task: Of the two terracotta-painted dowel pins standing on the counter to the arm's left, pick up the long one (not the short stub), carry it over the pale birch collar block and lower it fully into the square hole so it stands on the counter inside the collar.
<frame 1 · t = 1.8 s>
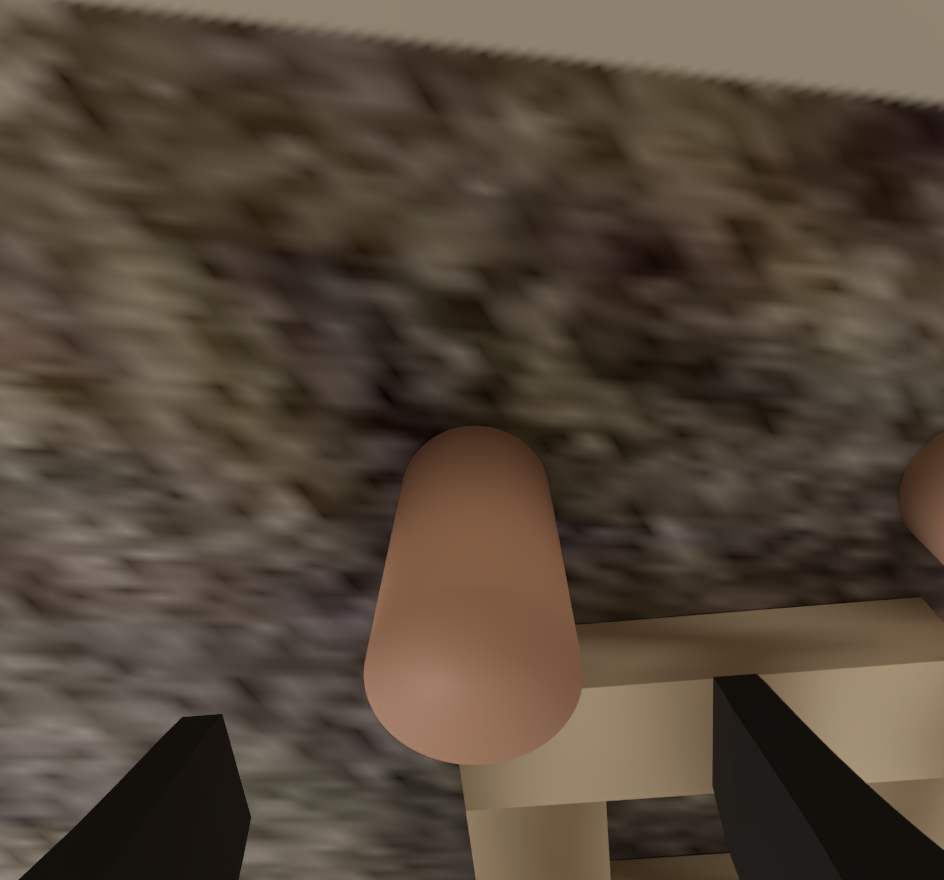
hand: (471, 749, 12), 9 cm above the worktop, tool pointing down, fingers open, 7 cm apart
long pin: (475, 494, 20), on the worktop
collar block: (685, 792, 23), on the worktop
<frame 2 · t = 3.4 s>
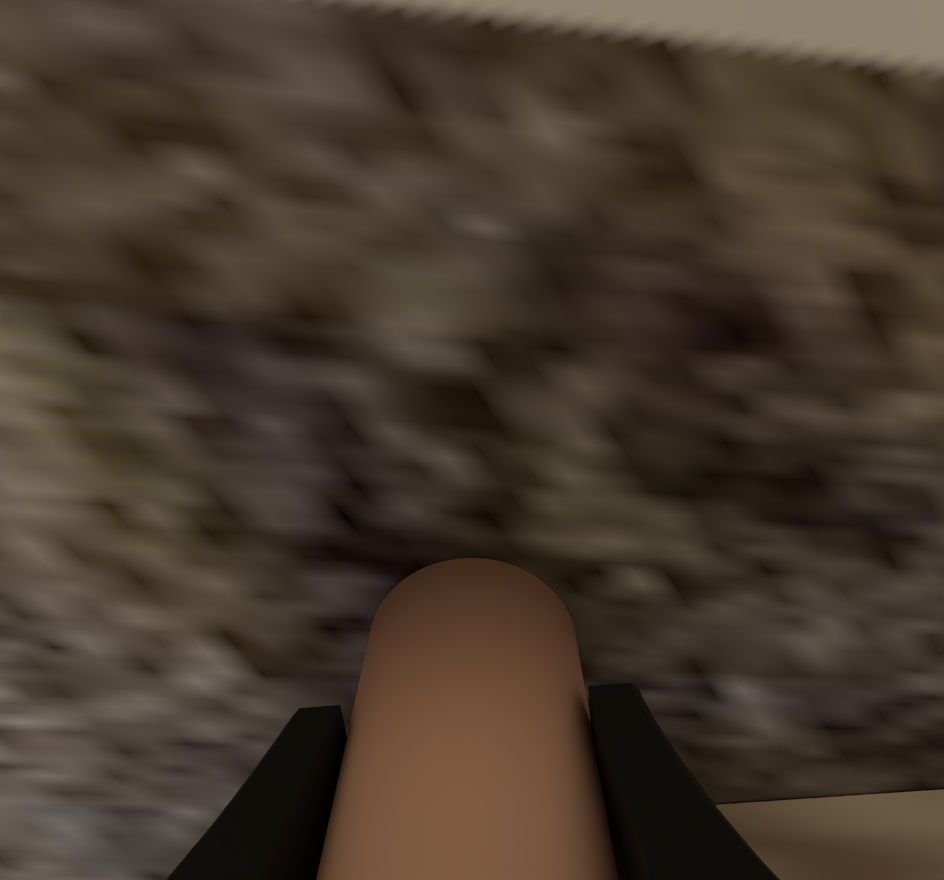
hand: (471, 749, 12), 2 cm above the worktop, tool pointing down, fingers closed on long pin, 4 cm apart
long pin: (472, 648, 14), on the worktop, touching gripper
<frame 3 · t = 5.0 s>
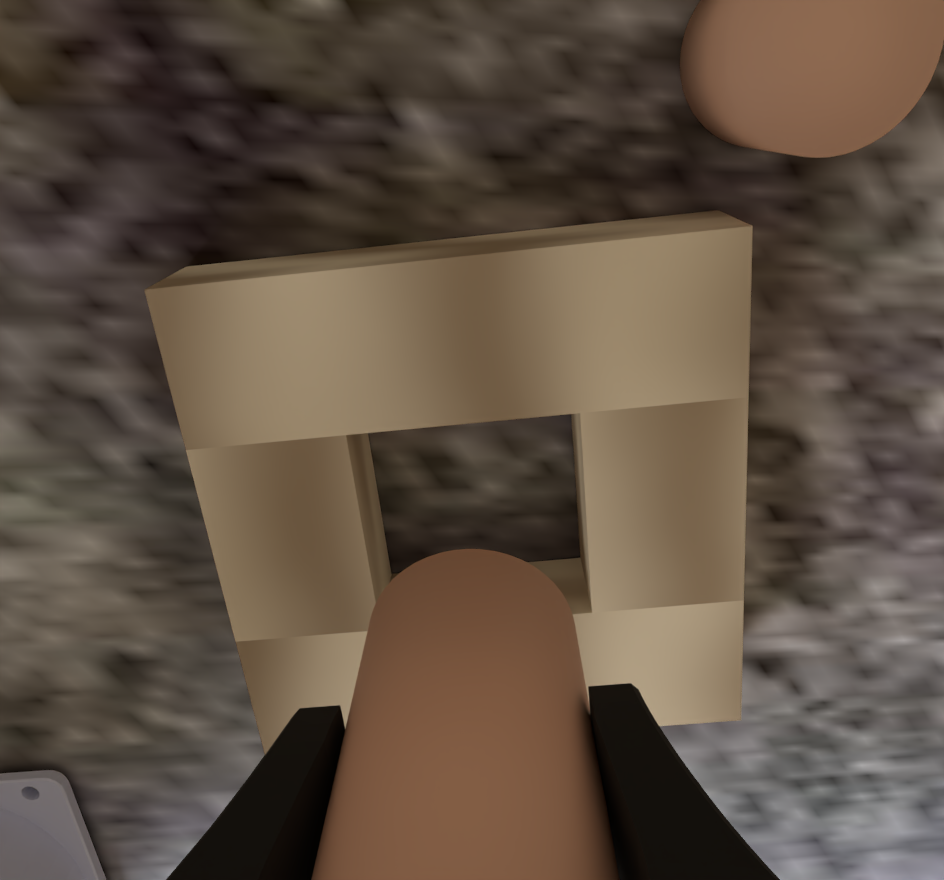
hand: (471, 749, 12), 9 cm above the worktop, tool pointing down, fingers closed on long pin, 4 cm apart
long pin: (472, 639, 14), point 7 cm above the worktop, touching gripper
short stub: (767, 55, 17), on the worktop
collar block: (475, 480, 21), on the worktop
when the fingers open (3 cm above the worktop, at t = 6.6 s): long pin stays where it is, resting in collar block.
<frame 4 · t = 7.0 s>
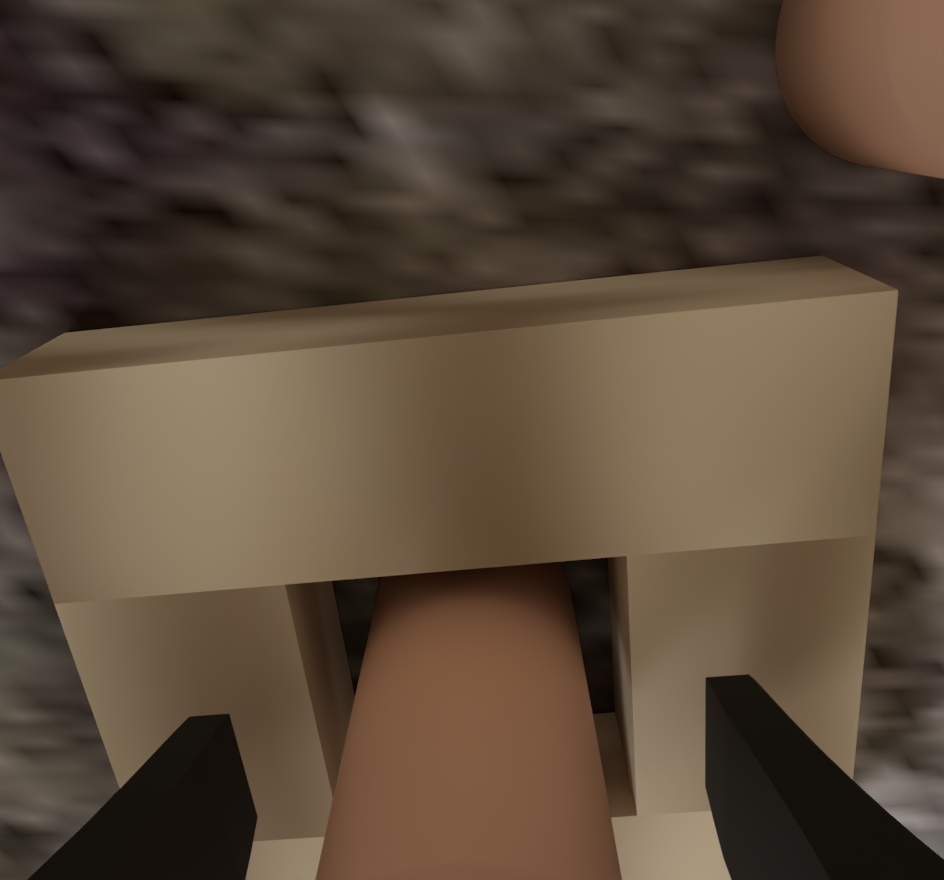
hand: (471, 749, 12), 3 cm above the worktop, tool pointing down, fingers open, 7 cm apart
long pin: (474, 607, 15), resting in collar block
short stub: (905, 31, 11), on the worktop
collar block: (474, 615, 15), on the worktop
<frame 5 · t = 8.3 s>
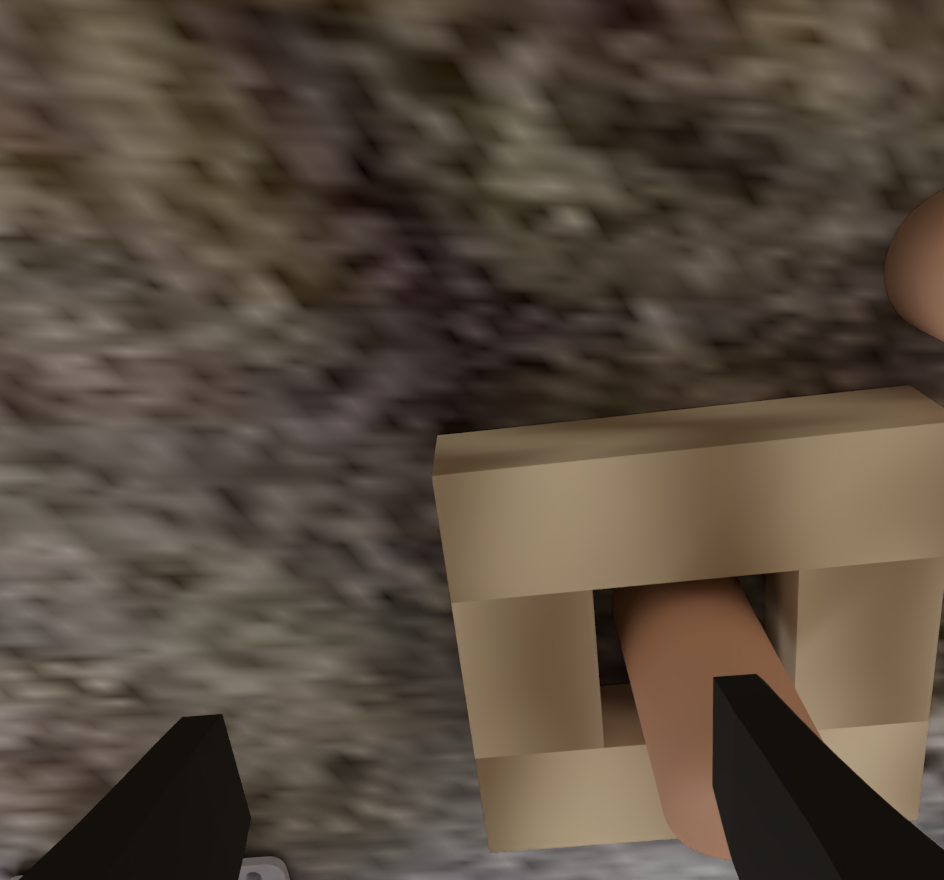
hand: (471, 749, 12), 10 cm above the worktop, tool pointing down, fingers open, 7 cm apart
long pin: (675, 602, 23), resting in collar block
collar block: (675, 607, 23), on the worktop
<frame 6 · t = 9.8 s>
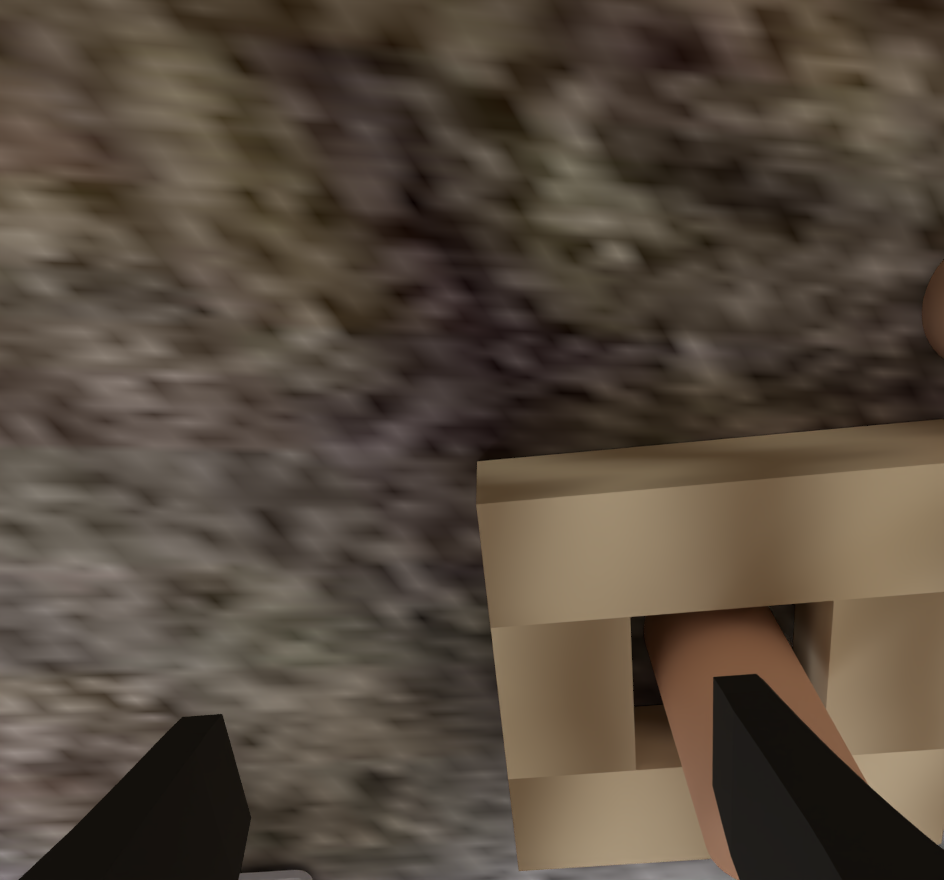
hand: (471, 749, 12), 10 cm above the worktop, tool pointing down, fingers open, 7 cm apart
long pin: (706, 627, 24), resting in collar block
collar block: (705, 632, 24), on the worktop
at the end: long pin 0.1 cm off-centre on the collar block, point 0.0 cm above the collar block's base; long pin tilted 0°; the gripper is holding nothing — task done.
